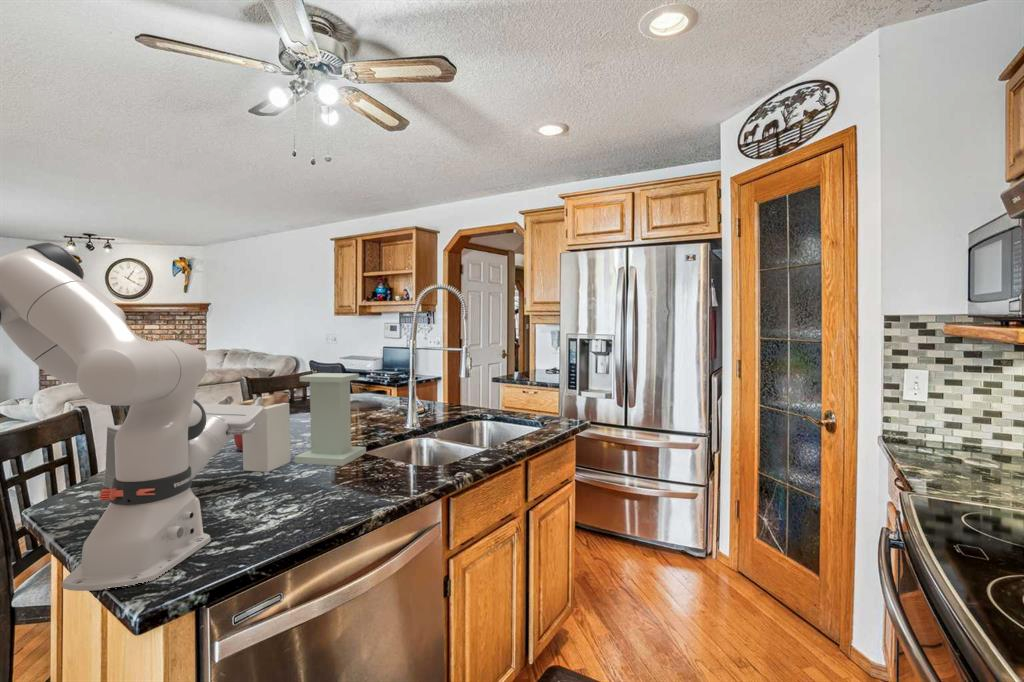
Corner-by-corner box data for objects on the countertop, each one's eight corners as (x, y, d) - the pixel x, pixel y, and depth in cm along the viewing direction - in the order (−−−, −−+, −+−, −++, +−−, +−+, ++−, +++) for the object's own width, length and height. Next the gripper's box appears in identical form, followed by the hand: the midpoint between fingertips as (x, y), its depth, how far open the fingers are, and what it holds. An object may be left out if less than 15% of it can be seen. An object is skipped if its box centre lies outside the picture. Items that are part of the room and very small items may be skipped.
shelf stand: (343, 465, 142) (341, 378, 141) (294, 463, 145) (292, 377, 144) (366, 453, 156) (364, 373, 155) (321, 450, 159) (319, 372, 158)
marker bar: (240, 413, 129) (240, 404, 129) (227, 413, 130) (227, 404, 129) (288, 401, 148) (288, 393, 148) (277, 401, 149) (277, 393, 149)
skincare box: (104, 488, 124) (101, 427, 123) (136, 480, 130) (134, 421, 129) (120, 493, 120) (118, 430, 119) (153, 484, 126) (151, 424, 125)
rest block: (268, 471, 137) (266, 408, 136) (243, 470, 138) (241, 408, 137) (290, 461, 146) (289, 402, 146) (267, 460, 148) (265, 402, 147)
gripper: (242, 425, 118) (274, 390, 130) (171, 422, 122) (209, 388, 134) (252, 443, 122) (282, 408, 133) (183, 440, 125) (218, 406, 137)
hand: (245, 398), depth 133 cm, fingers open, 8 cm apart
